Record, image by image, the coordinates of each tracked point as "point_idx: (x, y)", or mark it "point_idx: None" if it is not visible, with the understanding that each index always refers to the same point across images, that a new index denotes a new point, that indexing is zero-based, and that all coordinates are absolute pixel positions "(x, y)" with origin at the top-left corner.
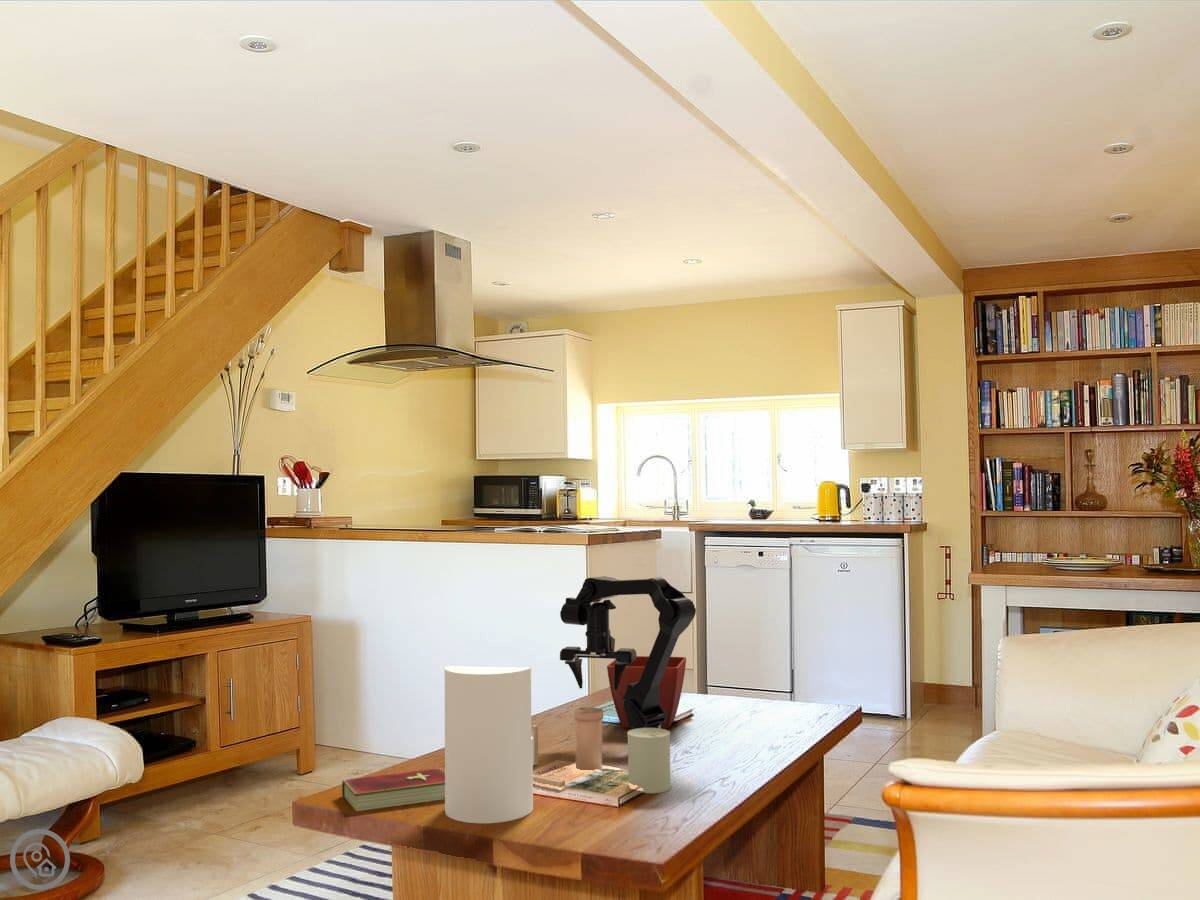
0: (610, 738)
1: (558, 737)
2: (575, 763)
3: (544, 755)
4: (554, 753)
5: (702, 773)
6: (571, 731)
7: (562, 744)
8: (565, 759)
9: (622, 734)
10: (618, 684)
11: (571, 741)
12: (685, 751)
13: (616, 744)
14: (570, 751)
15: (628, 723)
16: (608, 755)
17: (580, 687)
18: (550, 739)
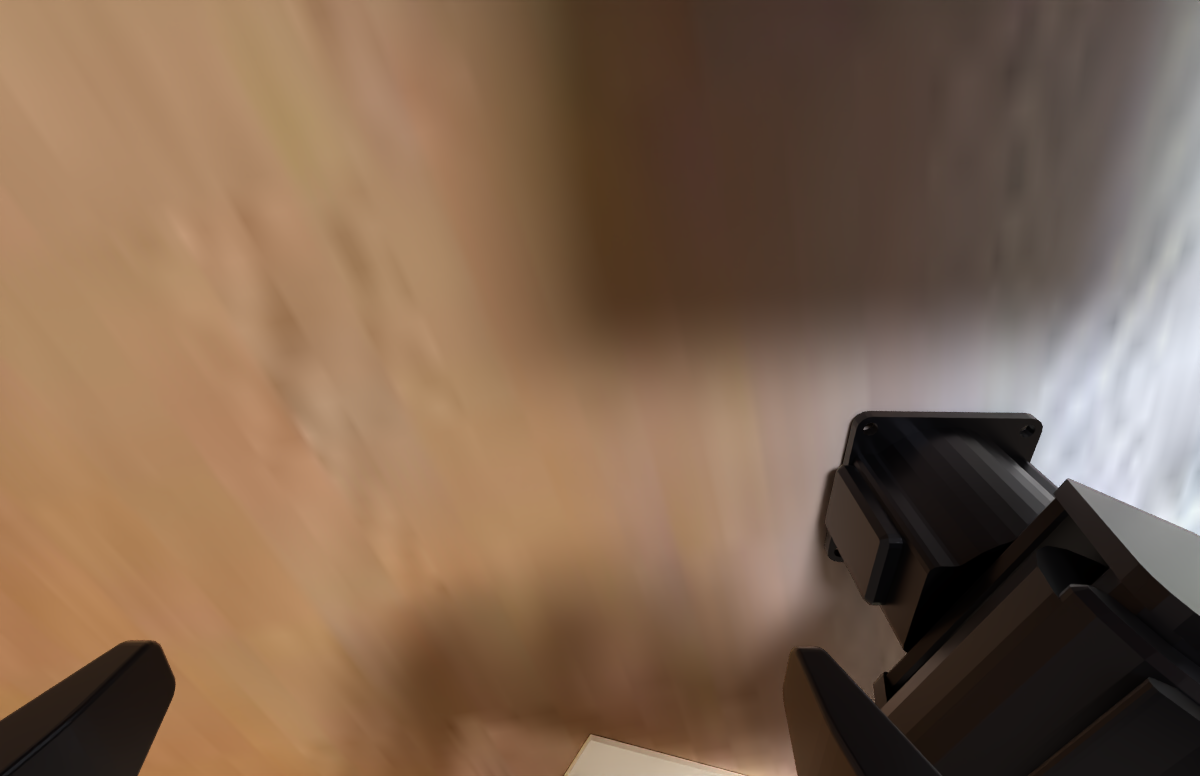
0: (609, 220)
1: (195, 282)
2: (582, 773)
3: (366, 675)
4: (396, 637)
5: None
6: (164, 21)
7: (338, 463)
8: (502, 710)
9: (681, 33)
10: (879, 733)
11: (355, 377)
12: (1175, 462)
13: (696, 389)
14: (463, 590)
15: (874, 694)
16: (699, 618)
17: (159, 708)
18: (178, 355)
